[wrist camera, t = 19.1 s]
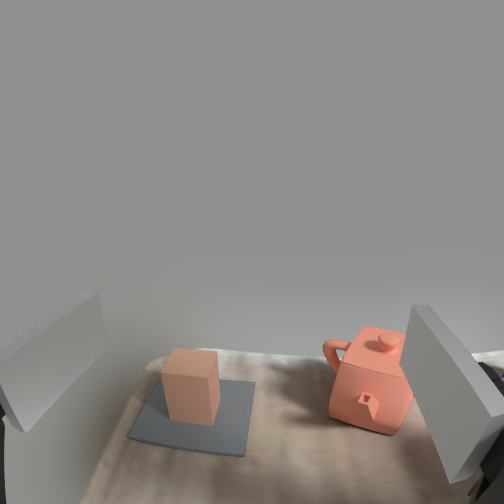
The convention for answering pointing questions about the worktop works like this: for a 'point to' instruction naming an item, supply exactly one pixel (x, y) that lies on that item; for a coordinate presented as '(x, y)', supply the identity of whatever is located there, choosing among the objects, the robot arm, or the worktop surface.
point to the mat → (196, 435)
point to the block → (192, 386)
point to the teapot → (369, 380)
